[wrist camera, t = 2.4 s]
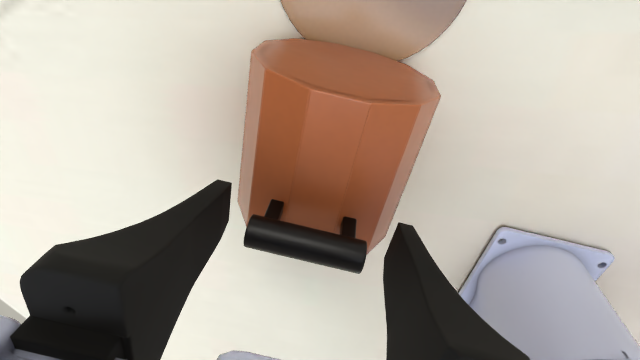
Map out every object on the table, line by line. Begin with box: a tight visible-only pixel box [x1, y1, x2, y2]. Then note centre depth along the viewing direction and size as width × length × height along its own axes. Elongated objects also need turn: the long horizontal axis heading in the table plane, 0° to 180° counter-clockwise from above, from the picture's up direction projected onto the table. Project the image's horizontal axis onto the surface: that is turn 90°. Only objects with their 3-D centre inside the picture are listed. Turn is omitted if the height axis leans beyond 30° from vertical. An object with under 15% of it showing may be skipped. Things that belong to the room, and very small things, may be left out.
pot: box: [238, 39, 441, 274], centre depth 17 cm, size 10×8×8 cm
